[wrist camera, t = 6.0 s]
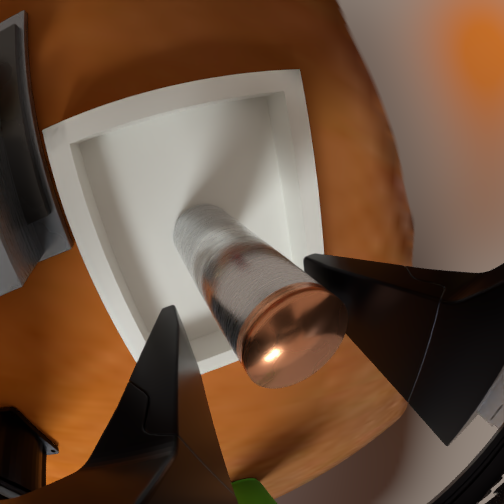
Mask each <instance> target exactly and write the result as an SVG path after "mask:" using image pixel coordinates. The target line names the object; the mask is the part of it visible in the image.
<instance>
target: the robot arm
mask: <svg viewBox="0 0 504 504" xmlns="http://www.w3.org/2000/svg"><path fill="white" fill-rule="evenodd" d="M303 265H304V272H306V273H307V274H308V275H309V276H311V277H312V278H313V279H315V280H316V281H317V282H318V283H320V284H321V285H322V286H324V287H325V288H326V289H328V290H329V291H330V292H331V293H333V294H334V295H335V296H336V297H338V298H339V299H340V300H341V301H342V302H343V303H344V305H345V307H346V309H347V314H348V323H347V329H346V332H345V333H346V334H347V335H348V336H349V338H350V339H351V340H352V341H353V342H354V343H355V344H356V345H357V346H358V347H359V349H360V350H361V351H362V352H363V353H364V354H365V355H366V356H367V357H368V358H369V360H370V361H371V362H372V363H373V364H374V365H375V366H376V367H377V368H378V370H379V371H380V372H381V373H382V374H383V375H384V376H385V377H386V378H387V380H388V381H389V382H390V383H391V384H392V385H393V386H394V387H395V389H396V390H397V391H398V392H399V393H400V394H401V395H402V396H403V397H404V399H405V400H406V401H407V402H408V403H409V404H410V406H411V407H412V408H413V409H414V410H415V411H416V412H417V413H418V414H419V416H420V417H421V418H422V419H423V420H424V421H425V422H426V424H427V425H428V426H429V427H430V428H431V429H432V431H433V432H434V433H435V434H436V435H437V436H438V437H439V438H440V440H441V441H442V442H443V443H444V444H445V445H446V446H448V445H449V444H450V443H451V442H452V441H453V440H455V439H456V438H457V436H458V435H459V434H460V433H461V432H462V431H463V430H464V429H465V428H466V427H467V426H468V425H469V424H470V423H471V422H472V420H473V419H474V418H475V417H476V416H477V415H478V414H479V415H480V416H481V417H482V418H483V419H484V420H485V421H487V422H488V423H489V424H490V425H491V426H493V425H495V426H496V427H497V428H498V430H497V432H496V433H495V434H494V436H493V437H492V438H491V439H490V441H489V442H488V443H487V444H486V445H485V447H484V448H483V449H482V450H481V451H480V452H479V454H478V455H477V456H476V457H475V458H474V459H473V460H472V461H471V463H470V464H469V465H468V466H467V467H466V468H465V469H464V470H463V471H462V472H461V473H460V474H459V475H458V476H457V477H456V478H455V479H454V480H453V481H452V482H451V483H450V484H449V485H448V486H447V487H446V488H445V489H443V490H442V491H441V492H440V493H439V494H438V495H437V496H436V497H434V498H433V499H432V500H431V501H430V502H429V503H427V504H478V503H479V502H480V501H481V500H482V499H483V498H485V497H486V496H488V495H489V494H490V493H491V490H490V489H491V488H492V487H494V486H495V485H496V484H497V483H498V482H499V481H500V480H501V479H502V475H503V474H504V263H503V264H502V265H500V266H498V267H496V268H495V269H493V270H490V271H487V272H483V273H467V272H456V271H442V270H432V269H424V268H416V267H409V266H406V267H405V266H402V265H395V264H388V263H381V262H374V261H367V260H360V259H353V258H346V257H339V256H331V255H324V254H317V253H314V254H311V255H308V256H306V257H304V259H303ZM58 453H59V449H58V447H57V446H55V445H54V444H53V443H52V442H51V441H50V440H48V439H47V438H46V437H45V436H44V435H43V434H42V433H40V432H39V431H38V430H37V429H36V428H35V427H34V426H33V425H32V424H31V423H30V422H29V421H28V420H27V419H26V418H25V417H24V416H23V415H22V414H21V413H20V412H19V411H18V410H16V409H15V408H13V407H6V408H0V504H238V501H237V499H236V496H235V493H234V490H233V487H232V484H231V481H230V478H229V475H228V472H227V469H226V465H225V462H224V459H223V456H222V452H221V449H220V446H219V442H218V439H217V435H216V432H215V428H214V425H213V421H212V417H211V413H210V410H209V406H208V402H207V398H206V394H205V390H204V386H203V382H202V378H201V374H200V370H199V367H198V364H197V361H196V359H195V356H194V353H193V351H192V348H191V345H190V342H189V340H188V337H187V334H186V331H185V328H184V326H183V323H182V321H181V319H180V316H179V314H178V311H177V309H176V307H175V305H170V306H167V307H164V308H162V310H161V312H160V314H159V316H158V318H157V320H156V322H155V324H154V326H153V328H152V331H151V333H150V335H149V337H148V339H147V341H146V343H145V346H144V348H143V350H142V352H141V354H140V357H139V359H138V361H137V363H136V366H135V368H134V370H133V373H132V375H131V377H130V379H129V382H128V384H127V386H126V388H125V391H124V393H123V395H122V397H121V400H120V402H119V404H118V406H117V408H116V410H115V412H114V414H113V416H112V418H111V419H110V421H109V423H108V425H107V427H106V429H105V430H104V432H103V434H102V436H101V438H100V440H99V441H98V443H97V445H96V447H95V449H94V451H93V453H92V454H91V456H90V458H89V459H88V461H87V462H86V463H85V465H84V466H83V467H82V468H80V469H79V470H78V471H76V472H75V473H73V474H71V475H69V476H66V477H64V478H62V479H60V480H58V481H55V482H53V483H51V484H49V485H46V455H50V454H58ZM494 495H495V497H493V498H492V499H491V500H489V501H488V502H487V503H485V504H504V483H503V484H502V485H500V486H499V487H498V488H497V489H496V490H495V491H494Z"/></svg>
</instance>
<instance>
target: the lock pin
mask: <svg viewBox="0 0 504 504" xmlns="http://www.w3.org/2000/svg"><path fill="white" fill-rule="evenodd" d="M173 240H174V244H175V247H176V249H177V251H178V253H179V255H180V257H181V258H182V260H183V262H184V264H185V266H186V268H187V270H188V272H189V274H190V275H191V277H192V279H193V281H194V283H195V285H196V287H197V288H198V290H199V292H200V294H201V296H202V297H203V299H204V301H205V303H206V305H207V306H208V308H209V310H210V312H211V314H212V315H213V317H214V319H215V320H216V322H217V324H218V326H219V327H220V329H221V331H222V333H223V334H224V336H225V338H226V339H227V341H228V343H229V344H230V346H231V348H232V349H233V351H234V353H235V354H236V356H237V358H238V359H239V361H240V363H241V364H242V366H243V367H244V369H245V371H246V372H247V374H248V375H249V377H250V378H251V380H252V381H253V382H254V383H256V384H257V385H259V386H262V387H265V388H282V387H287V386H290V385H293V384H296V383H298V382H300V381H302V380H304V379H306V378H307V377H309V376H311V375H312V374H314V373H315V372H316V371H317V370H319V369H320V368H321V367H322V366H323V365H324V364H325V363H326V362H327V361H328V360H329V359H330V358H331V357H332V356H333V354H334V353H335V352H336V350H337V349H338V347H339V345H340V344H341V342H342V340H343V338H344V335H345V332H346V329H347V323H348V314H347V309H346V307H345V305H344V303H343V302H342V301H341V300H340V299H339V298H338V297H336V296H335V295H334V294H333V293H331V292H330V291H329V290H328V289H326V288H325V287H324V286H322V285H321V284H320V283H318V282H317V281H316V280H315V279H313V278H312V277H311V276H309V275H308V274H307V273H306V272H304V271H303V270H302V269H300V268H299V267H298V266H296V265H295V264H294V263H293V262H291V261H290V260H289V259H287V258H286V257H285V256H283V255H282V254H281V253H279V252H278V251H277V250H276V249H274V248H273V247H272V246H270V245H269V244H268V243H266V242H265V241H264V240H262V239H261V238H260V237H258V236H257V235H256V234H254V233H253V232H252V231H250V230H249V229H248V228H247V227H245V226H244V225H243V224H241V223H240V222H239V221H237V220H236V219H235V218H233V217H232V216H231V215H229V214H228V213H227V212H225V211H224V210H223V209H221V208H220V207H218V206H215V205H212V204H199V205H195V206H193V207H191V208H189V209H188V210H186V211H185V212H184V213H183V214H182V215H181V216H180V217H179V219H178V220H177V222H176V224H175V227H174V232H173Z"/></svg>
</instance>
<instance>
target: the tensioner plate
mask: <svg viewBox="0 0 504 504" xmlns="http://www.w3.org/2000/svg"><path fill="white" fill-rule="evenodd" d="M73 245H74V244H73V242H72V239H71V237H70V234H69V232H68V229H67V226H66V223H65V221H64V218H63V215H62V212H61V209H60V206H59V203H58V200H57V197H56V194H55V191H54V188H53V184H52V181H51V177H50V174H49V170H48V167H47V163H46V159H45V155H44V151H43V147H42V143H41V138H40V133H39V129H38V124H37V118H36V113H35V107H34V100H33V94H32V86H31V77H30V67H29V54H28V14H27V13H26V11H25V10H23V11H21V12H19V13H17V14H16V15H14V16H12V17H10V18H8V19H7V20H5V21H3V22H1V23H0V296H1V295H3V294H6V293H8V292H10V291H13V290H15V289H18V288H20V287H22V286H23V284H24V283H25V281H26V280H27V278H28V277H29V275H30V274H31V272H32V271H33V269H34V268H35V266H36V265H37V263H38V262H40V261H42V260H45V259H47V258H49V257H52V256H54V255H57V254H59V253H62V252H64V251H67V250H69V249H71V248H72V246H73Z"/></svg>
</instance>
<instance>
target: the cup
mask: <svg viewBox="0 0 504 504" xmlns="http://www.w3.org/2000/svg"><path fill="white" fill-rule="evenodd" d="M231 484H232V487H233V490H234V493H235V496H236V499H237V501H238V504H277V503H276V502H275V500H274V499H273V498H272V497H271V495H270V494H269V493H268V492H267V490H266V489H265V488H264V487H263V485H262V484H261V483H260V481H257V479H255V478H247V479H242V480H238V481H235V482H233V483H231Z"/></svg>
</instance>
